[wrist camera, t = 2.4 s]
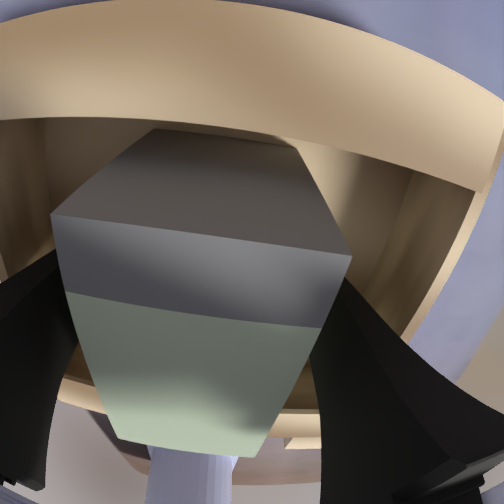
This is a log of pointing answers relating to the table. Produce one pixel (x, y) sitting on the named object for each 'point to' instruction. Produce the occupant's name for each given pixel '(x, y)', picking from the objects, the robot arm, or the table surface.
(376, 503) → the robot arm
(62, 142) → the wooden tray
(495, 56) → the table surface
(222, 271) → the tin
